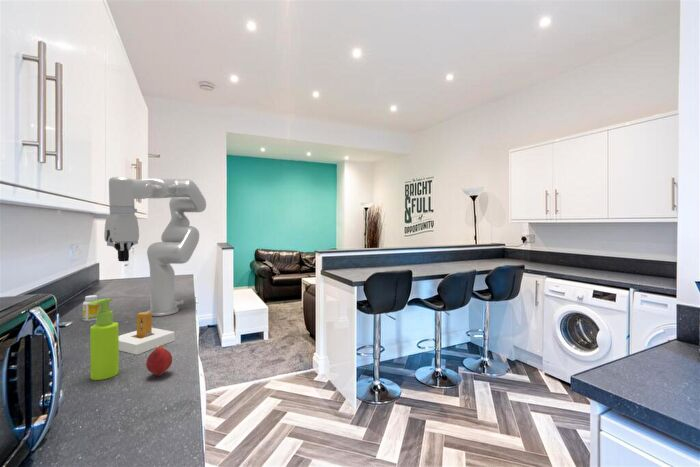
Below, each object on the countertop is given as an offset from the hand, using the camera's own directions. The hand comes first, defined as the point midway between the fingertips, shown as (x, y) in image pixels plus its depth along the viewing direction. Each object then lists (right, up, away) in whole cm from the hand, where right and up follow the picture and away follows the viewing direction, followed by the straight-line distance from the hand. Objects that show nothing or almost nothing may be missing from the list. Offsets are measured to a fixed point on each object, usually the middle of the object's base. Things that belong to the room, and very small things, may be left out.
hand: (123, 260), depth 118 cm
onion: (+34, -27, -35) cm, 56 cm away
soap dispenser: (+20, -27, -35) cm, 49 cm away
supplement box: (+16, -26, -13) cm, 33 cm away
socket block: (+16, -26, -13) cm, 33 cm away
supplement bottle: (-23, -26, +14) cm, 37 cm away
